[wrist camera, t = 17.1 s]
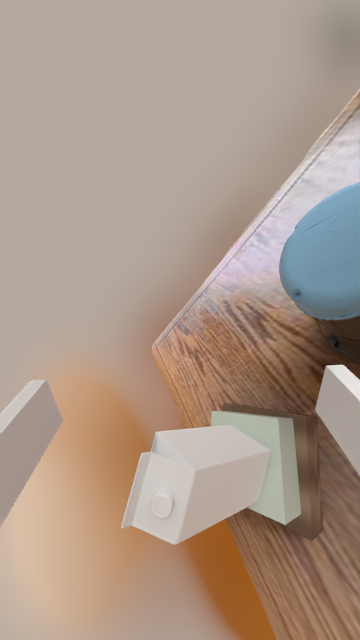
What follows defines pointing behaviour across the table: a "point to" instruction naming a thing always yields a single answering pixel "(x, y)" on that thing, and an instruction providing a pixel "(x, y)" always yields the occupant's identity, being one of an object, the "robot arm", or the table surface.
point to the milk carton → (195, 481)
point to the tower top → (271, 461)
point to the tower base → (300, 468)
